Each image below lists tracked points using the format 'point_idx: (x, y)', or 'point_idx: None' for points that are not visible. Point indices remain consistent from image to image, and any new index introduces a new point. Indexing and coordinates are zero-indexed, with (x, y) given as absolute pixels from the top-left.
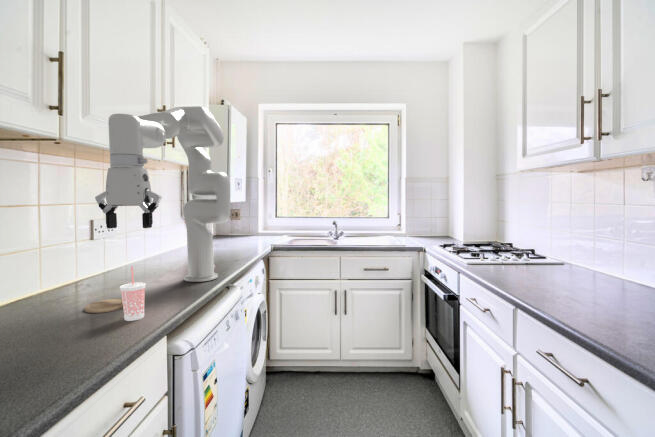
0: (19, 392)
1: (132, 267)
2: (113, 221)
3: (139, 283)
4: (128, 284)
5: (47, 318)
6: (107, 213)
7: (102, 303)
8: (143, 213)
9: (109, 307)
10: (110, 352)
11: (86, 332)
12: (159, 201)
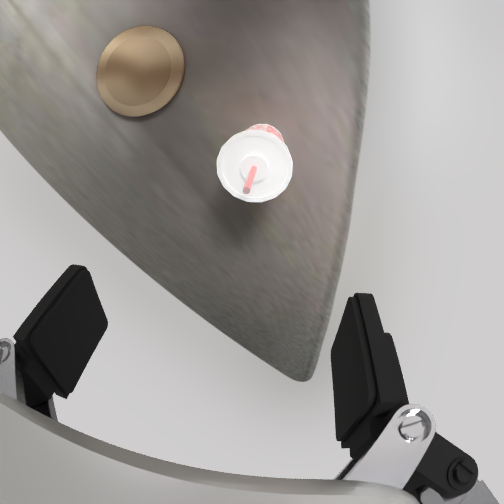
0: (265, 353)
1: (249, 191)
2: (76, 323)
3: (260, 140)
4: (229, 152)
5: (81, 155)
6: (64, 397)
7: (123, 72)
8: (348, 445)
9: (159, 93)
10: (308, 294)
11: (213, 222)
12: (484, 494)
